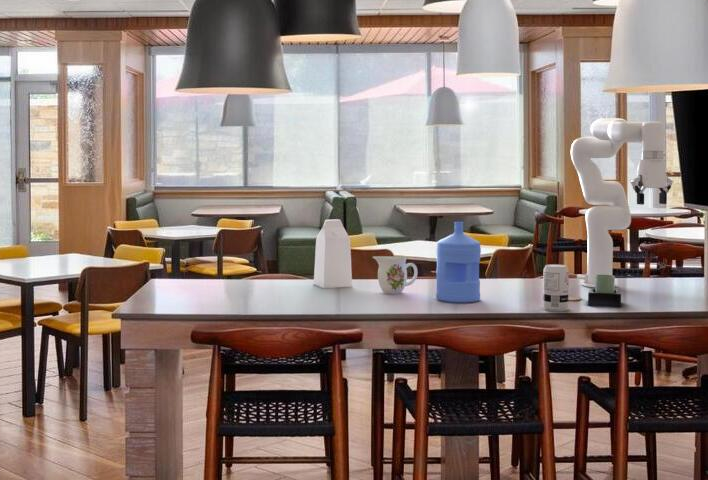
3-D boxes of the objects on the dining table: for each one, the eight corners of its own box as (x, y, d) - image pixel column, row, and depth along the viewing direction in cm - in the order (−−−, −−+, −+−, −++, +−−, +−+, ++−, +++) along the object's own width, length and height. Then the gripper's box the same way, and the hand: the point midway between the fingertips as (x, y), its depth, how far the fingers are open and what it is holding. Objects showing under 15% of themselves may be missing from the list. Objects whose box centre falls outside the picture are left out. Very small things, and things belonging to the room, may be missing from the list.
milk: (341, 282, 391) (341, 218, 390) (352, 286, 380) (352, 220, 379) (313, 284, 388) (313, 219, 386) (323, 288, 377) (323, 221, 375)
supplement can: (539, 307, 332) (540, 264, 331) (563, 307, 333) (563, 263, 332) (547, 311, 324) (548, 267, 323) (571, 311, 325) (572, 267, 324)
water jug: (427, 298, 353) (428, 221, 351) (464, 295, 359) (465, 219, 357) (451, 304, 339) (451, 224, 337) (488, 301, 345) (489, 223, 343)
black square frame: (587, 305, 336) (588, 292, 336) (588, 301, 347) (588, 288, 346) (620, 307, 333) (621, 294, 333) (620, 302, 343) (620, 289, 343)
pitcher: (422, 293, 363) (422, 257, 362) (376, 295, 358) (376, 258, 358) (412, 289, 373) (412, 254, 372) (367, 291, 369) (367, 255, 368)
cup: (592, 304, 339) (592, 276, 338) (598, 302, 344) (598, 274, 344) (610, 306, 335) (611, 277, 335) (616, 303, 341) (616, 275, 340)
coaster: (548, 299, 350) (548, 298, 350) (557, 295, 359) (557, 294, 359) (575, 301, 345) (575, 300, 345) (584, 298, 353) (584, 297, 353)
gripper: (665, 156, 353) (664, 203, 354) (625, 156, 348) (624, 204, 349) (679, 156, 346) (678, 204, 347) (639, 156, 341) (638, 205, 341)
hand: (651, 204), depth 348 cm, fingers open, 9 cm apart
